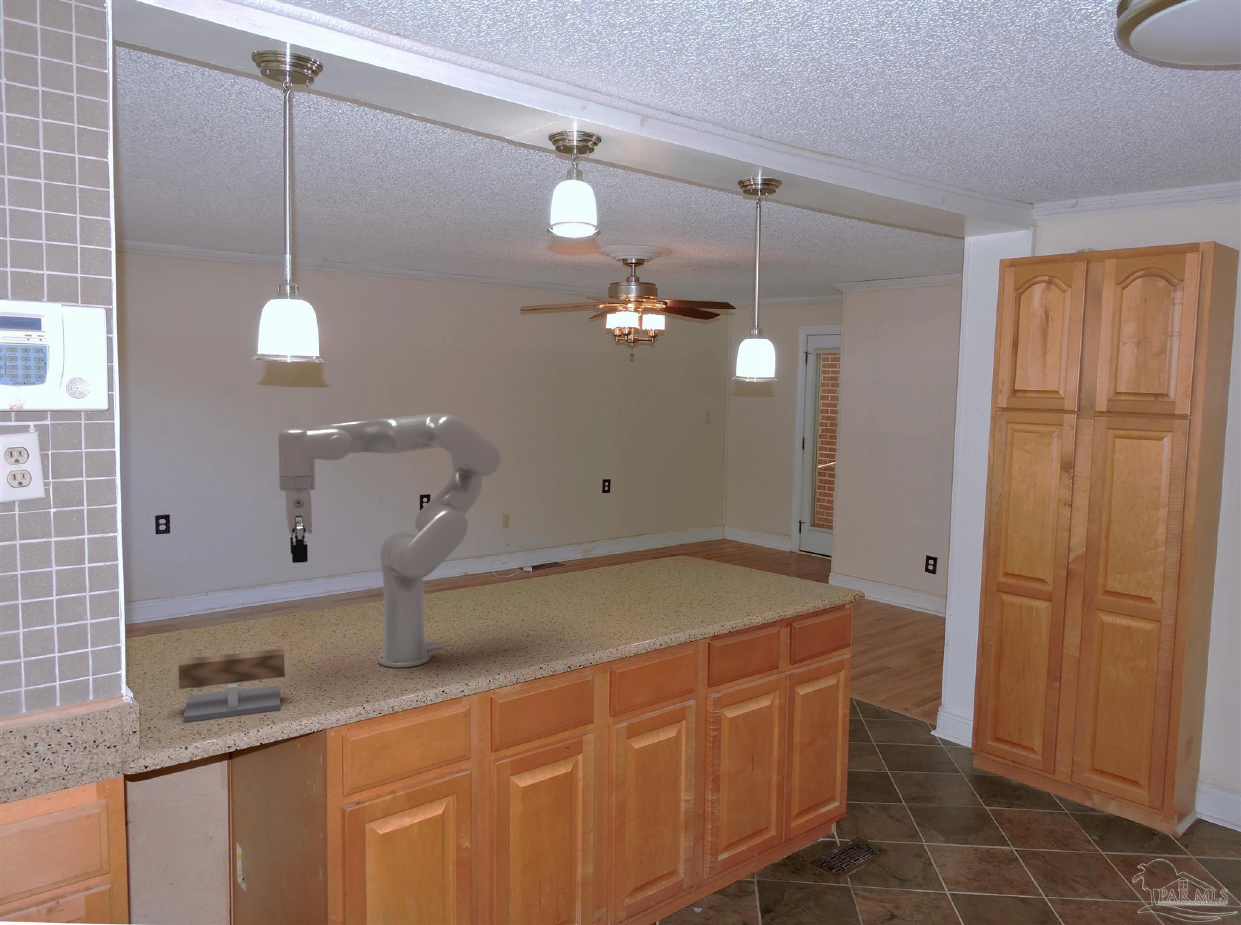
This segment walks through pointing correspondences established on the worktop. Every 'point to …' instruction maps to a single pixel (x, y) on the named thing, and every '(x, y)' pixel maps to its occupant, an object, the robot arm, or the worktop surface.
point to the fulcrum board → (221, 703)
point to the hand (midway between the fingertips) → (299, 557)
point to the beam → (231, 668)
